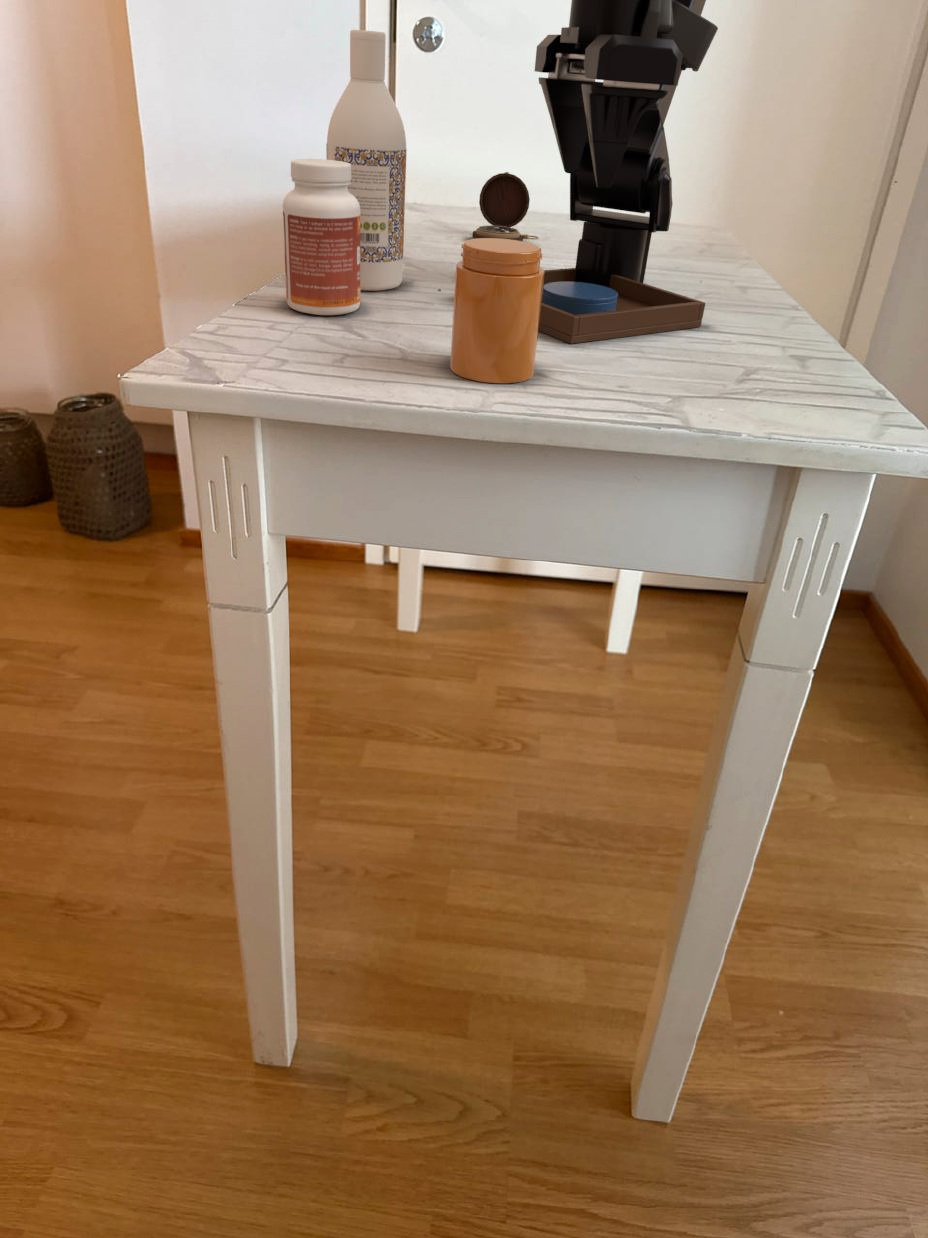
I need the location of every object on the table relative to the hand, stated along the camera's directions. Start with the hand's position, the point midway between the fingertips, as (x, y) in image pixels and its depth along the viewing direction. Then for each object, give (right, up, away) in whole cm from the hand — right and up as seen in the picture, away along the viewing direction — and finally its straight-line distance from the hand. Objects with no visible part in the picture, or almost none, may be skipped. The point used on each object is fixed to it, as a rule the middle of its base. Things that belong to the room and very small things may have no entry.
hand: (586, 179), depth 75 cm
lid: (0, -8, +3) cm, 9 cm away
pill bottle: (-22, -11, +1) cm, 25 cm away
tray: (0, -9, +6) cm, 11 cm away
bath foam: (-20, -5, +10) cm, 22 cm away
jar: (-8, -19, -11) cm, 23 cm away
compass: (-5, +9, +34) cm, 36 cm away
